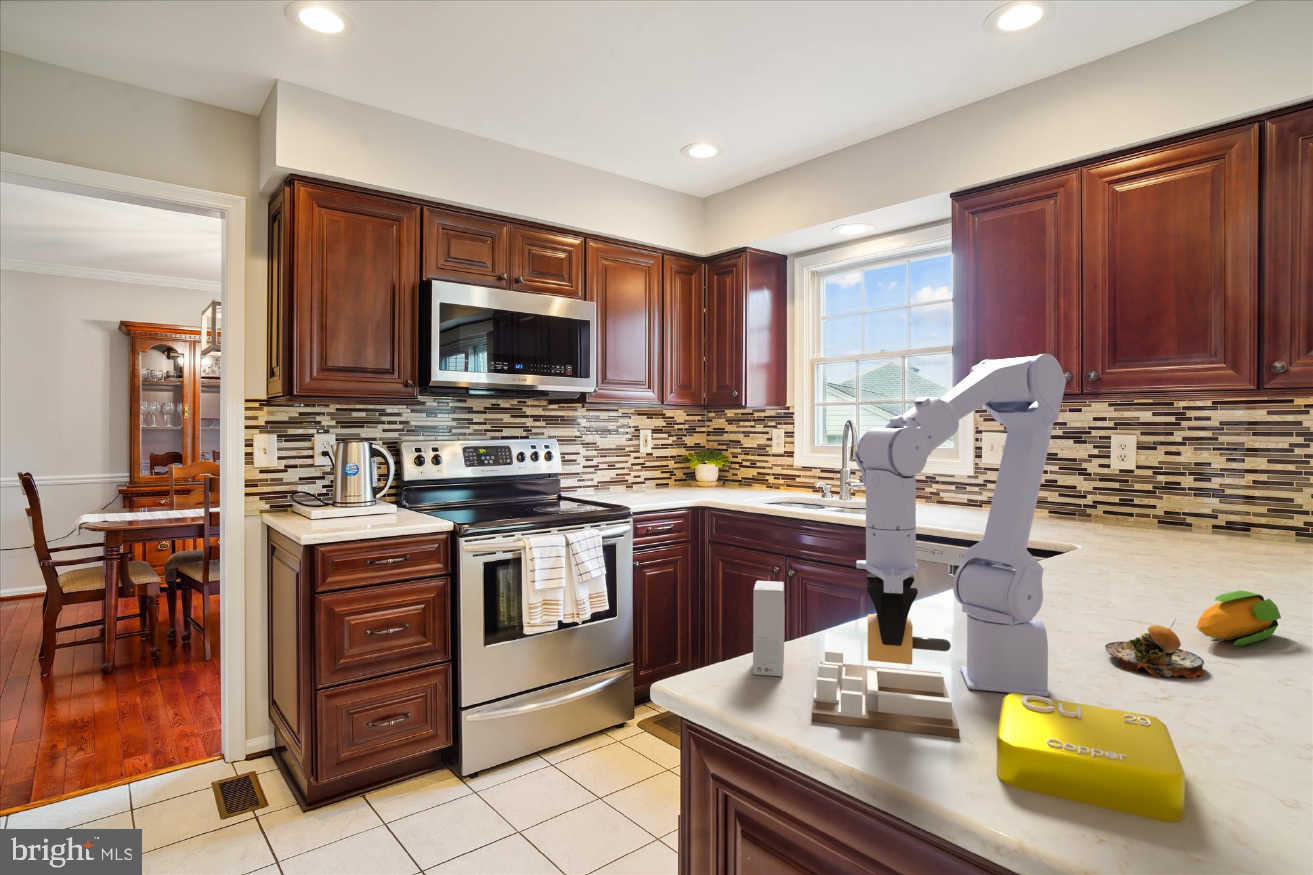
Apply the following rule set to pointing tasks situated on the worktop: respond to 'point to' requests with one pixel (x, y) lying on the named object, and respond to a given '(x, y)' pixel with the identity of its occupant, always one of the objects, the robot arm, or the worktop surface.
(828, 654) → the clip
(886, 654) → the block
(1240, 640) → the corn
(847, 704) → the clip
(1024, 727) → the element tile
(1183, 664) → the burger
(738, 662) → the worktop surface
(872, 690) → the frame
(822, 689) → the clip
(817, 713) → the board
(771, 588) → the skincare box
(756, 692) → the worktop surface
